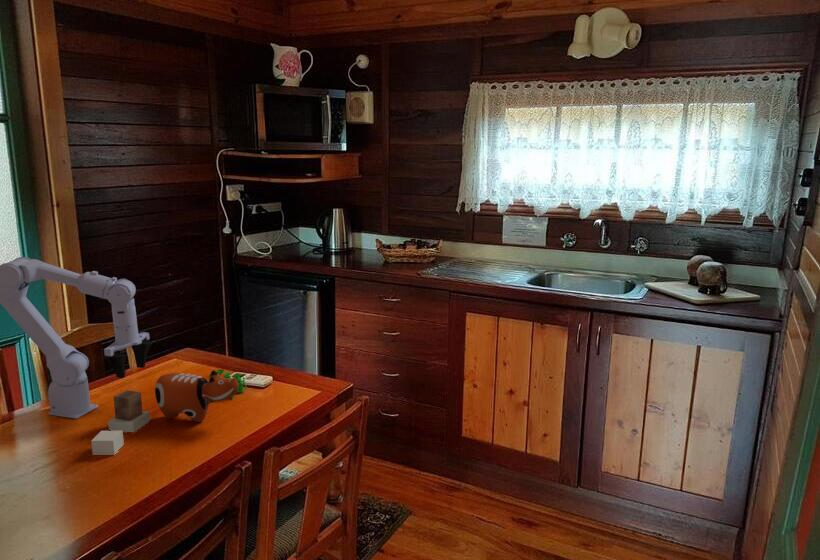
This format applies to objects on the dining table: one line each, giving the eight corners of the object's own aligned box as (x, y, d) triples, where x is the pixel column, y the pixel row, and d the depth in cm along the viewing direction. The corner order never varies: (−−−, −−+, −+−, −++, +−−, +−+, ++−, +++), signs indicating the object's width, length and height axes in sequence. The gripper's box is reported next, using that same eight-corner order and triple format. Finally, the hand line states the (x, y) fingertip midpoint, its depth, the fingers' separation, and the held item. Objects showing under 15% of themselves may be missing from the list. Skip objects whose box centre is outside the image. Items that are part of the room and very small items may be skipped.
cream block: (93, 456, 136) (91, 440, 135) (103, 445, 141) (101, 430, 140) (114, 456, 136) (113, 440, 136) (124, 445, 141) (122, 430, 140)
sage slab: (109, 432, 148) (108, 421, 148) (126, 419, 155) (125, 409, 154) (134, 434, 147) (132, 423, 147) (150, 422, 154) (149, 411, 153)
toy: (230, 435, 147) (226, 379, 143) (149, 425, 151) (144, 371, 148) (249, 417, 156) (246, 365, 153) (172, 409, 161) (168, 358, 158)
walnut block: (115, 418, 149) (113, 396, 148) (128, 411, 153) (126, 390, 152) (129, 420, 148) (128, 398, 147) (142, 413, 152) (140, 392, 151)
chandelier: (256, 393, 172) (255, 371, 171) (208, 408, 162) (206, 385, 161) (233, 379, 183) (231, 358, 181) (186, 392, 173) (184, 370, 171)
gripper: (117, 334, 148) (123, 383, 152) (156, 318, 162) (161, 364, 165) (95, 332, 150) (101, 380, 153) (135, 316, 164) (140, 361, 167)
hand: (131, 372), depth 159 cm, fingers open, 7 cm apart
